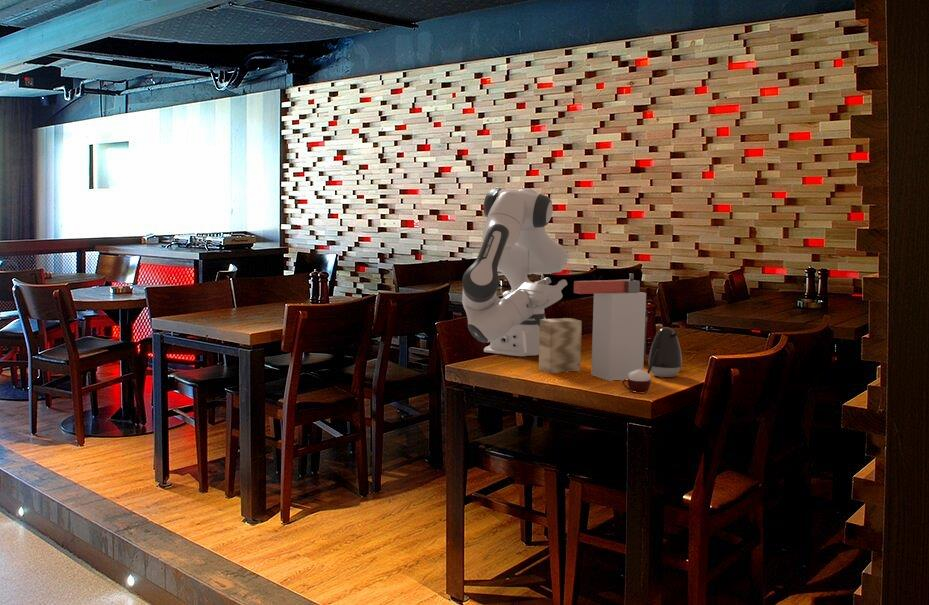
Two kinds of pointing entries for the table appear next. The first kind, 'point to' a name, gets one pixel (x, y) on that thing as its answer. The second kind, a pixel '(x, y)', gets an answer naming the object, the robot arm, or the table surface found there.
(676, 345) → the grey rounded upright piece
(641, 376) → the cocoa
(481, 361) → the table surface
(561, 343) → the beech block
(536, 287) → the robot arm
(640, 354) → the tall grey pillar block
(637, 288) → the pin spanner
